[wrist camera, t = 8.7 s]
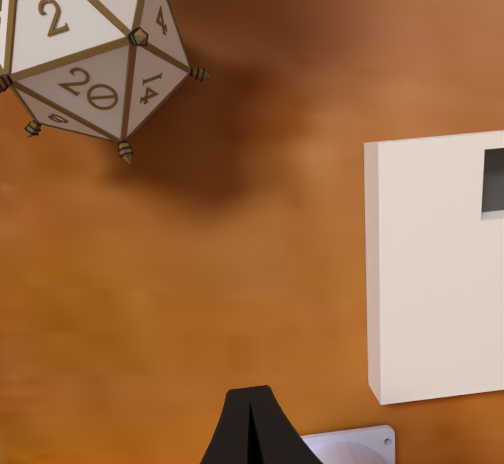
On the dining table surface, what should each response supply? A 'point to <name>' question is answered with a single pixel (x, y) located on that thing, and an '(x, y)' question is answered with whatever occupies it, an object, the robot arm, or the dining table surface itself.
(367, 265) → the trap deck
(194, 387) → the dining table surface
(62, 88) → the game die
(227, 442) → the robot arm
